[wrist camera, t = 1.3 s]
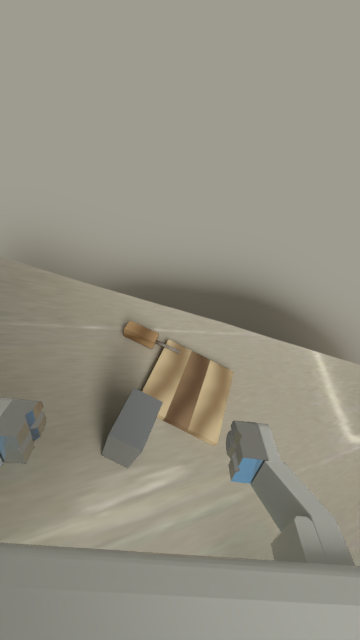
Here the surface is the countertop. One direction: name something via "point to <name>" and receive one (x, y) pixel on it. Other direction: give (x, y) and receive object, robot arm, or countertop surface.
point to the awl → (144, 336)
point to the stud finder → (132, 428)
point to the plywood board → (190, 392)
